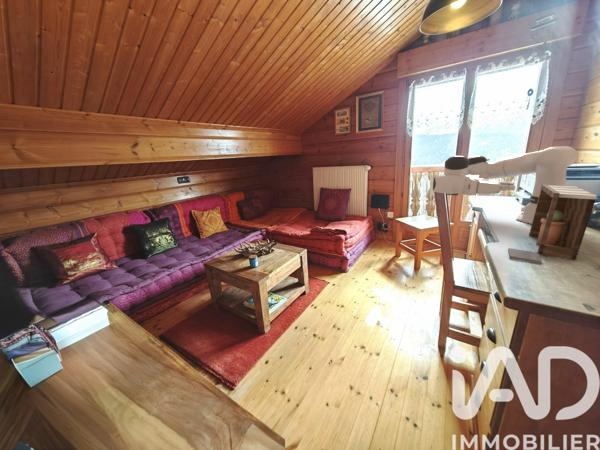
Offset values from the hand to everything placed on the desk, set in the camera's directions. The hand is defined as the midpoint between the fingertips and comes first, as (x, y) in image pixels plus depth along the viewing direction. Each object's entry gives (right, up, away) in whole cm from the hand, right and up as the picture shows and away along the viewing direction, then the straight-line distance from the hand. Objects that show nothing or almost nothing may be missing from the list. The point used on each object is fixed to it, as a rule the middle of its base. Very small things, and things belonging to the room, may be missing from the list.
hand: (514, 186), depth 98 cm
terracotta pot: (+12, -25, -1) cm, 28 cm away
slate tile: (-5, -28, -9) cm, 30 cm away
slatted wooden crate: (+12, -25, -1) cm, 28 cm away
